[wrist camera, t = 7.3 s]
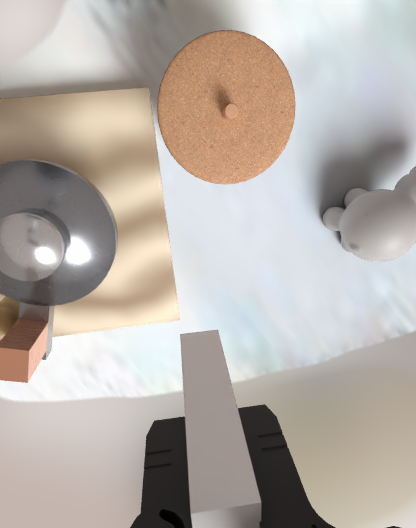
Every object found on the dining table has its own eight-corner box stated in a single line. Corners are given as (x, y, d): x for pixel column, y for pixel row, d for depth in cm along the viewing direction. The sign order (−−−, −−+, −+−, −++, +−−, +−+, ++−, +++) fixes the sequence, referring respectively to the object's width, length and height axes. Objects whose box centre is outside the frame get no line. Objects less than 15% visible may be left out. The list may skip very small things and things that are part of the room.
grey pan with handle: (-36, 143, 24) (-93, 143, 19) (127, 177, 26) (116, 186, 21) (-32, 340, 30) (-75, 383, 25) (102, 355, 32) (89, 398, 27)
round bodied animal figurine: (428, 191, 37) (498, 204, 29) (342, 257, 39) (386, 287, 31) (400, 139, 35) (468, 139, 27) (310, 213, 37) (349, 233, 29)
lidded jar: (138, 129, 32) (126, 125, 23) (204, 27, 29) (220, -21, 20) (223, 196, 35) (241, 214, 26) (289, 109, 32) (334, 97, 24)
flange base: (-77, 107, 29) (-161, 96, 21) (149, 89, 30) (142, 73, 23) (7, 336, 38) (-33, 384, 30) (179, 313, 39) (181, 354, 32)
